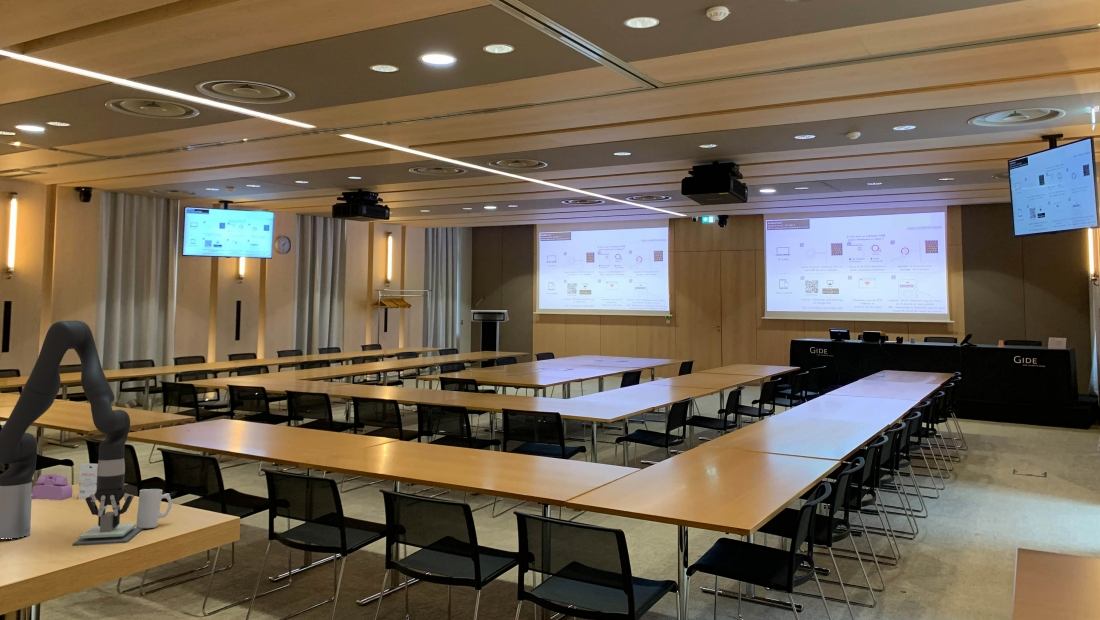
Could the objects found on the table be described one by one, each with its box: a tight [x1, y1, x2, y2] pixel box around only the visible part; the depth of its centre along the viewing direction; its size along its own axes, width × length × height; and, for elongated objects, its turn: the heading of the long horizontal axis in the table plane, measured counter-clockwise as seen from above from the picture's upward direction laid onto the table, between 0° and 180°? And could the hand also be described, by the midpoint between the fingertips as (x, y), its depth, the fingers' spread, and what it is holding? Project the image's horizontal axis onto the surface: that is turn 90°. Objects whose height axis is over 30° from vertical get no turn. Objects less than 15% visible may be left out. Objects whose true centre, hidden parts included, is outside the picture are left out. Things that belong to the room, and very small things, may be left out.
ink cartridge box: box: [78, 462, 98, 501], centre depth 277 cm, size 9×5×15 cm, turn 81°
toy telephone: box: [32, 473, 74, 501], centre depth 278 cm, size 18×6×10 cm, turn 78°
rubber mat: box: [72, 527, 144, 547], centre depth 224 cm, size 15×15×1 cm
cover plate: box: [79, 511, 136, 539], centre depth 224 cm, size 12×12×6 cm
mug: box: [135, 488, 173, 529], centre depth 237 cm, size 10×7×12 cm, turn 120°
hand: (108, 527), depth 224 cm, fingers closed on cover plate, 3 cm apart
